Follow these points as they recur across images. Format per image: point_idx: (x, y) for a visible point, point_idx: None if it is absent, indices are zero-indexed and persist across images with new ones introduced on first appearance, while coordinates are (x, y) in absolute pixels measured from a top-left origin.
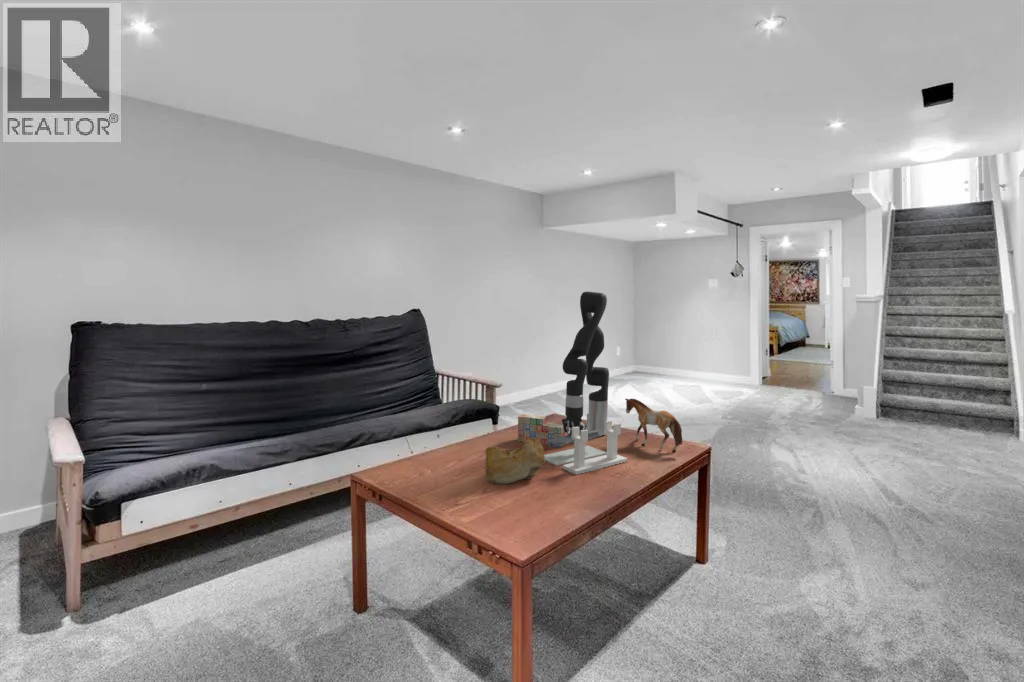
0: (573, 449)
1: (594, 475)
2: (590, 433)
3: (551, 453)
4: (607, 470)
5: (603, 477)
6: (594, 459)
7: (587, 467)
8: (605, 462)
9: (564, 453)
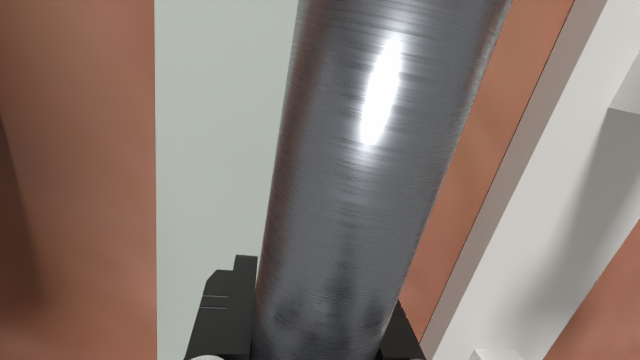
0: (181, 99)
1: (574, 340)
2: (510, 2)
3: (158, 320)
4: (623, 248)
5: (622, 327)
6: (529, 226)
7: (539, 351)
8: (623, 215)
9: (224, 250)
